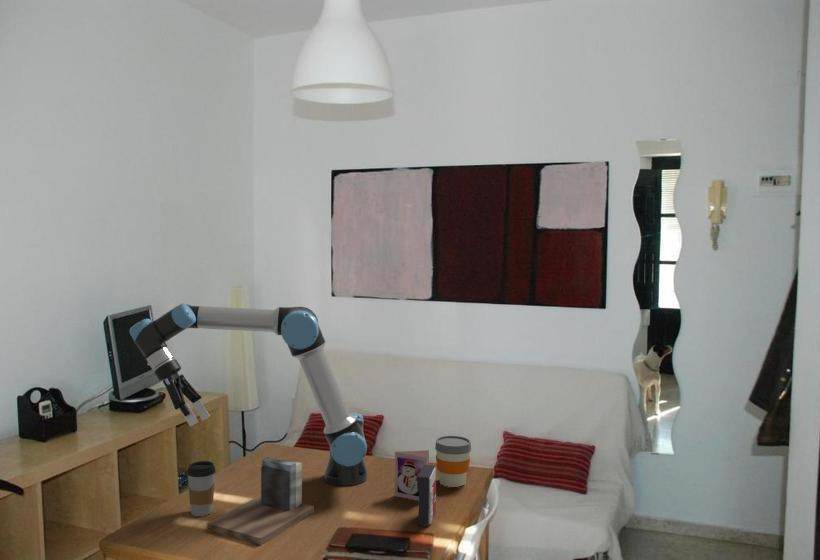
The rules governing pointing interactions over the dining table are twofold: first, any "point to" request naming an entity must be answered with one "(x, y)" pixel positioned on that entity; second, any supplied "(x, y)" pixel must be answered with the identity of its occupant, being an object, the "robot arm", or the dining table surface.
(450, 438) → the reusable coffee cup
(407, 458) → the greeting card
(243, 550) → the dining table surface
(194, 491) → the coffee cup
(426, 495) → the dark grey box
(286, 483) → the block on wooden base
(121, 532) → the dining table surface
